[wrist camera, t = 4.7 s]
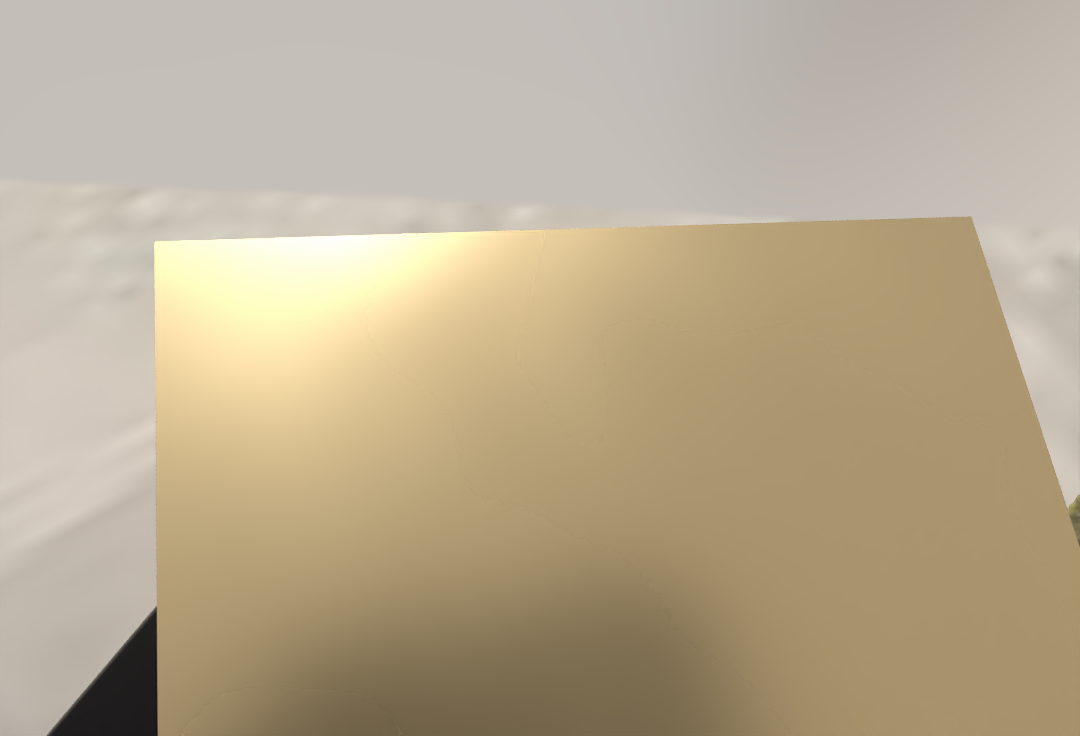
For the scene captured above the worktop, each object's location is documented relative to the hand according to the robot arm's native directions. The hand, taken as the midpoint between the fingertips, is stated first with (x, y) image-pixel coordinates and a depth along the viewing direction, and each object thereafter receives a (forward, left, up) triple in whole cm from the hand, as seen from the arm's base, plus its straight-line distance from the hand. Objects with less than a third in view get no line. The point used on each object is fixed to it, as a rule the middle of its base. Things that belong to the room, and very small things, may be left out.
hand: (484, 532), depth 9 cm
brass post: (-1, +1, -7) cm, 7 cm away
